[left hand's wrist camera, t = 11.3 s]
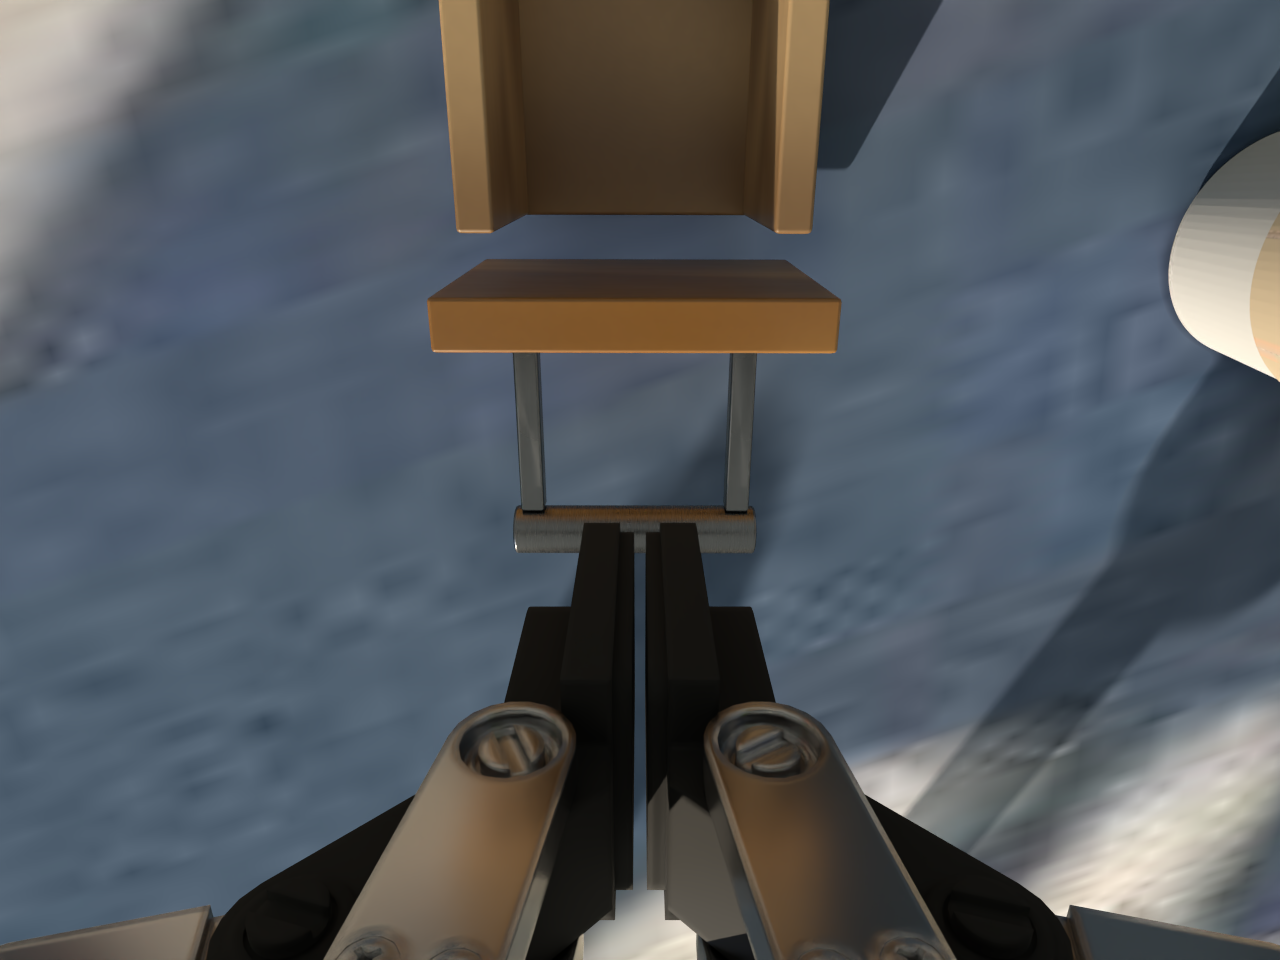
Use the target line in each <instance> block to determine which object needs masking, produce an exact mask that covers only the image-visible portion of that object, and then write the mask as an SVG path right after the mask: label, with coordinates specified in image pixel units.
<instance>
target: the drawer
mask: <svg viewBox="0 0 1280 960" xmlns="http://www.w3.org/2000/svg"><path fill="white" fill-rule="evenodd" d="M829 4H830V0H439V10H440V23H441V36H442V48H443V61H444V74H445V87H446V100H447V113H448V126H449V139H450V151H451V164H452V177H453V190H454V203H455V216H456V229H457V231H458V232H460V233H492V232H494V231H496V230H498V229H500V228H502V227H503V226H505V225H507V224H509V223H511V222H513V221H515V220H517V219H519V218H521V217H523V216H525V215H746V216H748V217H749V218H751V219H753V220H755V221H756V222H758V223H760V224H762V225H763V226H765V227H767V228H769V229H771V230H772V231H774V232H776V233H778V234H808V233H810V232H811V231H812V225H813V212H814V199H815V186H816V173H817V160H818V147H819V134H820V121H821V108H822V95H823V82H824V69H825V56H826V43H827V30H828V17H829ZM841 303H842V302H841V299H839V298H838V297H837V296H835V295H834V294H832V293H831V292H830V291H828V290H827V289H825V288H824V287H823V286H821V285H820V284H818V283H817V282H816V281H814V280H813V279H811V278H810V277H809V276H807V275H806V274H804V273H803V272H802V271H800V270H799V269H798V268H796V267H795V266H793V265H792V264H791V263H789V262H788V261H786V260H633V259H486V260H484V261H483V262H481V263H480V264H478V265H477V266H476V267H474V268H473V269H471V270H470V271H468V272H467V273H465V274H464V275H462V276H461V277H459V278H458V279H456V280H455V281H453V282H452V283H450V284H449V285H447V286H446V287H444V288H443V289H441V290H440V291H438V292H437V293H435V294H434V295H432V296H431V297H430V298H428V300H427V306H428V316H429V327H430V338H431V348H432V350H433V351H434V352H506V353H513V366H514V383H515V401H516V419H517V437H518V455H519V472H520V490H521V505H519V506H517V507H516V509H515V513H514V522H513V539H514V547H515V550H516V552H518V553H579V552H580V545H581V538H582V532H583V525H584V523H620V532H634V553H646V532H660V523H696V525H697V532H698V539H699V545H700V552H701V553H753V552H754V550H755V545H756V515H755V510H754V508H753V507H752V506H748V504H749V486H750V468H751V451H752V433H753V415H754V397H755V379H756V361H757V353H834V352H836V351H837V346H838V335H839V324H840V313H841ZM540 353H730V364H729V387H728V410H727V433H726V456H725V479H724V506H606V505H546V480H545V458H544V435H543V412H542V389H541V366H540Z"/></svg>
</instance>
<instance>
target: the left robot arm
mask: <svg viewBox="0 0 1280 960" xmlns="http://www.w3.org/2000/svg"><path fill="white" fill-rule="evenodd" d="M634 721H635V618H634V532H620V523H584V525H583V532H582V538H581V545H580V552H579V558H578V565H577V571H576V578H575V584H574V591H573V597H572V604H571V607H529V608H528V610H527V613H526V617H525V621H524V626H523V630H522V634H521V638H520V642H519V646H518V650H517V654H516V658H515V662H514V666H513V670H512V674H511V678H510V682H509V686H508V690H507V694H506V698H505V702H504V703H501V704H496V705H491V706H489V707H486V708H484V709H481V710H479V711H476V712H474V713H472V714H471V715H469V716H468V717H467V718H465V719H464V720H462V721H461V722H459V723H458V724H457V726H456V727H455V728H454V729H453V731H452V732H451V733H450V734H449V736H448V737H447V739H446V741H445V743H444V745H443V746H442V748H441V750H440V752H439V754H438V755H437V757H436V759H435V761H434V763H433V764H432V766H431V768H430V770H429V771H428V773H427V775H426V777H425V779H424V780H423V782H422V784H421V786H420V788H419V789H418V791H417V793H416V794H415V795H414V796H412V797H410V798H408V799H407V800H405V801H403V802H401V803H400V804H398V805H396V806H395V807H393V808H391V809H389V810H388V811H386V812H384V813H382V814H381V815H379V816H377V817H376V818H374V819H372V820H370V821H369V822H367V823H365V824H363V825H362V826H360V827H358V828H357V829H355V830H353V831H351V832H350V833H348V834H346V835H344V836H343V837H341V838H339V839H337V840H336V841H334V842H332V843H331V844H329V845H327V846H325V847H324V848H322V849H320V850H318V851H317V852H315V853H313V854H312V855H310V856H308V857H306V858H305V859H303V860H301V861H299V862H298V863H296V864H294V865H293V866H291V867H289V868H287V869H286V870H284V871H282V872H280V873H279V874H277V875H275V876H274V877H272V878H270V879H268V880H267V881H265V882H263V883H261V884H260V885H259V886H257V887H256V888H254V889H253V890H252V891H250V892H249V893H247V894H246V895H245V896H243V897H242V898H240V899H239V900H238V901H237V902H236V903H235V904H234V906H233V907H232V908H231V909H230V910H229V911H228V912H227V913H226V914H225V915H223V916H218V917H213V914H212V910H211V906H210V905H207V906H202V907H196V908H191V909H186V910H180V911H175V912H170V913H165V914H159V915H154V916H149V917H143V918H138V919H133V920H127V921H122V922H117V923H112V924H106V925H101V926H96V927H90V928H85V929H80V930H74V931H69V932H64V933H59V934H53V935H48V936H43V937H37V938H32V939H27V940H21V941H16V942H11V943H7V944H4V945H1V946H0V960H583V949H584V935H583V933H585V932H586V931H587V930H588V929H589V928H591V927H592V926H593V925H594V924H595V923H597V922H598V921H599V920H615V899H616V890H633V823H634ZM645 721H646V823H647V890H664V899H665V920H681V921H682V922H683V923H685V924H686V925H687V926H688V927H689V928H691V929H692V930H693V931H694V932H695V933H697V935H696V949H697V960H1280V946H1279V945H1276V944H1273V943H1269V942H1264V941H1259V940H1253V939H1248V938H1243V937H1237V936H1232V935H1227V934H1221V933H1216V932H1211V931H1206V930H1200V929H1195V928H1190V927H1184V926H1179V925H1174V924H1168V923H1163V922H1158V921H1153V920H1147V919H1142V918H1137V917H1131V916H1126V915H1121V914H1115V913H1110V912H1105V911H1100V910H1094V909H1089V908H1084V907H1078V906H1073V905H1070V906H1069V910H1068V914H1067V917H1062V916H1057V915H1055V914H1054V913H1053V912H1052V911H1051V910H1050V909H1049V908H1048V907H1047V906H1046V904H1045V903H1044V902H1043V901H1042V900H1041V899H1040V898H1038V897H1037V896H1035V895H1034V894H1033V893H1031V892H1030V891H1028V890H1027V889H1026V888H1024V887H1023V886H1021V885H1020V884H1019V883H1017V882H1015V881H1013V880H1012V879H1010V878H1008V877H1006V876H1005V875H1003V874H1001V873H1000V872H998V871H996V870H994V869H993V868H991V867H989V866H987V865H986V864H984V863H982V862H981V861H979V860H977V859H975V858H974V857H972V856H970V855H968V854H967V853H965V852H963V851H962V850H960V849H958V848H956V847H955V846H953V845H951V844H949V843H948V842H946V841H944V840H943V839H941V838H939V837H937V836H936V835H934V834H932V833H930V832H929V831H927V830H925V829H923V828H922V827H920V826H918V825H917V824H915V823H913V822H911V821H910V820H908V819H906V818H904V817H903V816H901V815H899V814H898V813H896V812H894V811H892V810H891V809H889V808H887V807H885V806H884V805H882V804H880V803H879V802H877V801H875V800H873V799H872V798H870V797H868V796H866V795H865V794H864V793H863V791H862V789H861V788H860V786H859V784H858V782H857V780H856V779H855V777H854V775H853V773H852V771H851V770H850V768H849V766H848V764H847V763H846V761H845V759H844V757H843V755H842V754H841V752H840V750H839V748H838V746H837V745H836V743H835V741H834V739H833V737H832V736H831V734H830V733H829V732H828V731H827V729H826V728H825V727H824V726H823V724H822V723H821V722H819V721H818V720H816V719H815V718H813V717H812V716H811V715H809V714H808V713H806V712H804V711H801V710H799V709H796V708H794V707H791V706H789V705H784V704H779V703H776V702H775V698H774V694H773V690H772V686H771V682H770V678H769V674H768V670H767V666H766V662H765V658H764V654H763V650H762V646H761V642H760V638H759V634H758V630H757V626H756V621H755V617H754V613H753V610H752V608H751V607H709V604H708V597H707V591H706V584H705V578H704V571H703V565H702V558H701V552H700V545H699V539H698V532H697V525H696V523H660V532H646V617H645Z"/></svg>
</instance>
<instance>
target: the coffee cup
mask: <svg viewBox="0 0 1280 960" xmlns="http://www.w3.org/2000/svg"><path fill="white" fill-rule="evenodd" d="M1169 288H1170V294H1171V299H1172V302H1173V306H1174V308H1175V311H1176V313H1177V315H1178V317H1179V319H1180V321H1181V322H1182V324H1183V325H1184V327H1185V328H1186V329H1187V330H1188V331H1189V333H1190V334H1191V335H1192V336H1193V337H1195V338H1196V339H1197V340H1198V341H1200V342H1201V343H1203V344H1204V345H1206V346H1207V347H1209V348H1211V349H1213V350H1216V351H1218V352H1220V353H1222V354H1224V355H1226V356H1228V357H1231V358H1233V359H1235V360H1237V361H1239V362H1241V363H1243V364H1246V365H1248V366H1250V367H1252V368H1254V369H1256V370H1258V371H1261V372H1263V373H1265V374H1267V375H1269V376H1271V377H1274V378H1276V379H1277V380H1278V381H1279V382H1280V131H1279V132H1276V133H1274V134H1272V135H1269V136H1267V137H1265V138H1263V139H1261V140H1259V141H1257V142H1255V143H1254V144H1252V145H1250V146H1249V147H1247V148H1245V149H1244V150H1243V151H1241V152H1240V153H1238V154H1237V155H1236V156H1234V157H1233V158H1232V159H1230V160H1229V161H1228V162H1227V163H1226V164H1225V165H1223V166H1222V167H1221V168H1220V169H1219V170H1218V171H1217V172H1216V173H1215V174H1214V175H1213V176H1212V177H1211V178H1210V179H1209V181H1208V182H1207V183H1206V184H1205V185H1204V186H1203V188H1202V189H1201V190H1200V192H1199V193H1198V194H1197V196H1196V197H1195V199H1194V200H1193V202H1192V203H1191V205H1190V206H1189V208H1188V210H1187V212H1186V213H1185V215H1184V217H1183V219H1182V221H1181V224H1180V226H1179V228H1178V231H1177V234H1176V236H1175V240H1174V243H1173V246H1172V251H1171V256H1170V263H1169Z"/></svg>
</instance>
